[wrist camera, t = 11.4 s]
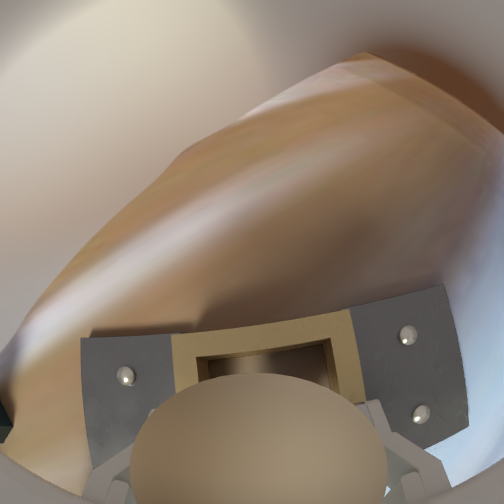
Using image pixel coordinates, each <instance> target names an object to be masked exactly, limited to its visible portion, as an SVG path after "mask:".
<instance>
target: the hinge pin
mask: <svg viewBox="0 0 504 504" xmlns="http://www.w3.org/2000/svg"><path fill="white" fill-rule="evenodd" d="M387 478H388V465H387V458H386V453H385V450H384V446H383V443H382V441H381V439H380V437H379V435H378V433H377V431H376V429H375V428H374V426H373V425H372V424H371V422H370V421H369V420H368V418H367V417H366V416H365V415H364V414H363V413H362V412H361V411H360V410H359V409H358V408H357V407H356V406H355V405H353V404H352V403H351V402H349V401H348V400H347V399H345V398H344V397H342V396H341V395H339V394H337V393H335V392H333V391H332V390H330V389H328V388H326V387H323V386H321V385H318V384H316V383H313V382H311V381H307V380H303V379H300V378H296V377H292V376H286V375H280V374H270V373H241V374H233V375H226V376H220V377H216V378H213V379H209V380H205V381H202V382H200V383H197V384H195V385H192V386H190V387H187V388H185V389H184V390H182V391H180V392H178V393H176V394H174V395H173V396H172V397H170V398H169V399H167V400H166V401H165V402H163V403H162V404H161V405H160V406H159V407H158V408H157V409H156V410H155V411H154V412H153V413H152V414H151V415H150V416H149V417H148V419H147V420H146V421H145V423H144V424H143V425H142V427H141V429H140V431H139V433H138V434H137V436H136V439H135V442H134V445H133V448H132V451H131V457H130V481H131V487H132V490H133V494H134V497H135V500H136V502H137V504H381V503H382V500H383V497H384V495H385V490H386V486H387Z"/></svg>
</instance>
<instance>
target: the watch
mask: <svg viewBox="0 0 504 504" xmlns="http://www.w3.org/2000/svg"><path fill="white" fill-rule="evenodd" d="M12 428H13V425H12V423H11V421H10V419H9V417H8V415H7V413H6V411H5V409H4V407H3V405H2V403H1V401H0V443H4V441H5V439H6V438H7V436H8V434H9V433H10V431H11V429H12Z"/></svg>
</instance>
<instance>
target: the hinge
mask: <svg viewBox="0 0 504 504" xmlns="http://www.w3.org/2000/svg"><path fill="white" fill-rule="evenodd" d="M319 344H323V348H324V354H325V360H326V366H327V372H328V378H329V384H330V390H332V391H333V392H335V393H337V394H339V395H341V396H342V397H344V398H345V399H347V400H348V401H349V402H351V403H352V404H353V403H358V402H365V401H370V400H375V399H378V400H379V401H380V403H381V406H382V408H383V411H384V413H385V416H386V419H387V421H388V424H389V426H390V429H391V432H397V433H398V434H400V435H401V436H403V437H404V438H406V439H407V440H409V441H410V442H412V443H414V444H415V445H417V446H418V447H420V448H421V449H423V450H424V449H426V448H428V447H430V446H432V445H435V444H437V443H439V442H441V441H443V440H445V439H446V438H448V437H450V436H452V435H454V434H456V433H458V432H459V431H461V430H463V429H465V428H466V427H468V426H469V419H468V405H467V394H466V386H465V378H464V371H463V365H462V359H461V353H460V348H459V343H458V338H457V334H456V329H455V325H454V321H453V317H452V313H451V309H450V305H449V302H448V298H447V295H446V291H445V288H444V285H443V284H441V285H438V286H434V287H431V288H427V289H423V290H420V291H416V292H412V293H408V294H404V295H400V296H396V297H392V298H388V299H384V300H380V301H375V302H371V303H367V304H362V305H357V306H353V307H348V308H343V309H340V310H339V311H336V312H331V313H326V314H321V315H315V316H310V317H304V318H299V319H293V320H287V321H281V322H274V323H268V324H261V325H254V326H247V327H240V328H232V329H224V330H215V331H206V332H197V333H186V334H183V333H169V334H156V335H141V336H123V337H96V338H81V380H82V395H83V406H84V416H85V424H86V431H87V438H88V444H89V450H90V455H91V460H92V465H93V470H94V469H96V468H97V467H99V466H100V465H102V464H103V463H105V462H106V461H108V460H109V459H111V458H112V457H114V456H115V455H117V454H118V453H119V452H121V451H122V450H124V449H125V448H127V447H128V446H129V445H131V444H132V443H134V442H135V439H136V436H137V434H138V433H139V431H140V429H141V427H142V425H143V424H144V423H145V421H146V420H147V418H148V416H149V413H150V411H151V410H152V409H157V408H158V407H159V406H160V405H161V404H162V403H163V402H165V401H166V400H167V399H169V398H170V397H172V396H173V395H174V394H176V393H178V392H180V391H182V390H184V389H185V388H187V387H190V386H192V385H195V384H197V383H200V382H202V381H205V380H209V379H210V375H209V365H208V360H215V359H225V358H235V357H243V356H251V355H259V354H266V353H273V352H279V351H285V350H291V349H297V348H303V347H308V346H314V345H319Z"/></svg>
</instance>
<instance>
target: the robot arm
mask: <svg viewBox="0 0 504 504" xmlns="http://www.w3.org/2000/svg"><path fill="white" fill-rule="evenodd" d="M353 405H355V406H356V407H357V408H358V409H359V410H360V411H361V412H362V413H363V414H364V415H365V416H366V417H367V418H368V420H369V421H370V422H371V424H372V425H373V426H374V428H375V429H376V431H377V433H378V435H379V437H380V439H381V441H382V443H383V446H384V450H385V453H386V458H387V465H388V478H387V486H388V487H389V488H390V489H391V490H390V491H389V492H388V493H387V494H386V495H385V497H384V498H383V500H382V503H381V504H504V458H502V459H501V460H499V461H498V462H496V463H495V464H493V465H492V466H490V467H488V468H487V469H485V470H484V471H482V472H480V473H479V474H477V475H475V476H473V477H472V478H470V479H468V480H466V481H464V482H463V483H461V484H459V485H457V486H455V487H453V488H452V487H451V485H450V482H449V480H448V477H447V475H446V472H445V470H444V467H443V465H442V462H441V460H439V459H438V458H436V457H434V456H433V455H431V454H429V453H428V452H426V451H425V450H423V449H421V448H420V447H418V446H417V445H415V444H414V443H412V442H410V441H409V440H407V439H406V438H404V437H403V436H401V435H400V434H398V433H397V432H391V429H390V426H389V424H388V421H387V419H386V416H385V413H384V411H383V408H382V406H381V403H380V401H379V400H378V399H375V400H370V401H365V402H358V403H353ZM155 410H156V409H152V410H151V411H150V413H149V416H150V415H151V414H152V413H153V412H154V411H155ZM149 416H148V417H149ZM147 419H148V418H147ZM133 445H134V443H132V444H131V445H129V446H128V447H127V448H125V449H124V450H122V451H121V452H119V453H118V454H117V455H115V456H114V457H112V458H111V459H109V460H108V461H106V462H105V463H103V464H102V465H100V466H99V467H97V468H96V469H94V470H93V471H92V473H91V475H90V478H89V480H88V482H87V485H86V487H85V489H84V492H83V494H82V497H80V496H78V495H75V494H73V493H71V492H69V491H67V490H65V489H63V488H61V487H59V486H57V485H55V484H53V483H51V482H49V481H47V480H45V479H43V478H42V477H40V476H38V475H36V474H35V473H33V472H31V471H30V470H28V469H26V468H25V467H23V466H21V465H20V464H18V463H17V462H15V461H14V460H12V459H11V458H9V457H8V456H6V455H5V454H4V453H2V452H1V451H0V504H137V502H136V500H135V497H134V494H133V490H132V487H131V481H130V457H131V451H132V448H133Z"/></svg>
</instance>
